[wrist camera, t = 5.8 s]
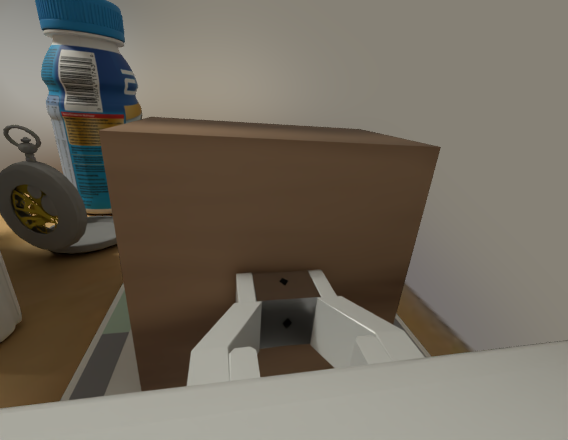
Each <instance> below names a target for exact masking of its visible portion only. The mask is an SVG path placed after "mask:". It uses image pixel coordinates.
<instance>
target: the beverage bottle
mask: <svg viewBox="0 0 568 440" xmlns="http://www.w3.org/2000/svg"><path fill="white" fill-rule="evenodd" d="M35 2H36V6H37V11H38V16H39V20H40V25H41V28H42V30H43V33H44V35H46V36H48V37H51V38H53V43H52V45H51V46H50V48H49V50H48V51H47V53H46V56H45V58H44V61H43V64H42V70H41V77H42V80H43V81H44V83H45V84H46V85H47V87H48V89H49V95H48V97H47V100H46V107H47V111H48V114H49V115H50V117H51V121H52V125H53V129H54V134H55V138H56V143H57V147H58V152H59V156H60V160H61V165H62V169H63V173H64V176H66V177H67V178H68V180H69V181H70V182H71V183H72V184H73V185H74V186H75V187H76V189H77V191H78V192H79V194H80V196H81V198H82V199H83V202H84V205H85V209H86V212H87V213H90V214H112V209H111V203H110V197H109V191H108V185H107V179H106V173H105V167H104V161H103V155H102V149H101V142H100V136H99V130H102V129H106V128H110V127H114V126H118V125H122V124H126V123H129V122H133V121H137V120H141V119H142V110H141V106H140V105H139V103H138V101H137V99H136V97H135V94H136V91H137V88H138V85H137V81H136V78H135V76H134V74H133V72H132V70H131V68H130V66H129V65H128V63H127V62H126V60H125V59H124V58H123V56H122V55H121V54H120V52H119V50H118V47H123V46H124V42H125V38H124V29H123V20H122V15H121V11H120V9H119V8H118V7H117V6H116V5H114V4H113V3H111V2H109V1H106V0H35Z"/></svg>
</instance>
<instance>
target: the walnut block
mask: <svg viewBox="0 0 568 440" xmlns="http://www.w3.org/2000/svg"><path fill="white" fill-rule="evenodd" d="M99 136H100V142H101V149H102V155H103V161H104V167H105V173H106V179H107V185H108V191H109V197H110V203H111V209H112V215H113V221H114V228H115V234H116V240H117V246H118V252H119V258H120V264H121V270H122V276H123V282H124V288H125V294H126V301H127V307H128V313H129V319H130V325H131V331H132V337H133V343H134V349H135V355H136V361H137V367H138V373H139V380H140V386H141V392H142V391H150V390H158V389H167V388H175V387H183V386H187V380H188V372H189V364H190V357H191V351H192V350H193V348H194V347H195V346H196V345H197V344H198V343H199V342H200V341H201V340H202V338H203V337H204V336H205V335H206V334H207V333H208V332H209V331H210V330H211V328H212V327H213V326H214V325H215V324H216V323H217V322H218V321H219V319H220V318H221V317H222V316H223V315H224V314H225V313H226V312H227V311H228V309H229V308H230V307H231V306H232V305H233V304H234V303H236V273H257V272H293V271H306V270H318V269H320V270H322V272H323V273H324V275H325V277H326V278H327V280H328V282H329V283H330V285H331V287H332V288H333V290H334V292H335V293H336V295H337V296H342V297H344V298H346V299H347V300H349V301H351V302H353V303H355V304H356V305H358V306H360V307H362V308H364V309H365V310H367V311H369V312H371V313H373V314H374V315H376V316H378V317H380V318H382V319H384V320H385V321H387V322H389V323H391V324H393V323H394V320H395V316H396V312H397V308H398V305H399V301H400V297H401V293H402V290H403V286H404V282H405V278H406V275H407V271H408V267H409V264H410V260H411V256H412V252H413V249H414V245H415V241H416V237H417V233H418V230H419V226H420V222H421V218H422V215H423V211H424V207H425V204H426V200H427V196H428V193H429V189H430V185H431V181H432V178H433V174H434V170H435V166H436V162H437V159H438V155H439V151H440V147H438V146H433V145H428V144H424V143H420V142H415V141H410V140H406V139H402V138H397V137H393V136H388V135H384V134H379V133H375V132H370V131H366V130H361V129H346V128H329V127H312V126H295V125H279V124H262V123H244V122H228V121H211V120H194V119H178V118H161V117H149V118H145V119H141V120H137V121H133V122H129V123H126V124H122V125H118V126H114V127H110V128H106V129H102V130H99ZM257 358H258V365H259V372H260V377H267V376H275V375H284V374H292V373H300V372H309V371H317V370H325V369H333V368H334V367H333V366H332V365H331V364H330V363H329V362H328V361H327V360H326V359H324V358H323V357H322V356H321V355H320V354H319V353H318V352H317V351H316V350H315V349H314V348H313V347H312V346H311V345H310V344H302V345H288V346H279V347H271V348H263V349H259V352H258V354H257Z"/></svg>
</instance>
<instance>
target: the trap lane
mask: <svg viewBox="0 0 568 440" xmlns="http://www.w3.org/2000/svg"><path fill="white" fill-rule="evenodd" d="M393 325H394V326H396V327H398V328H400V329H402V330H403V331H405V333H406V334H407V335H408V336H409V338H410V339H411V340H412V342H413V343H414V344H415V345H416V347H417V348H418V349H419V351H420V352H421V353H422V354H423V356H424V357H432V356H431V355H430V354H429V353H428V352H427V350H426V349H425V348H424V347H423V345H422V344H421V343H420V342H419V340H418V339H417V338H416V337H415V336H414V334H413V333H412V332H411V331H410V329H409V328H408V327H407V326H406V325H405V323H404V322H403V321H402V320H401V318H400V317H399V316H398V315H397V313H396V316H395V320H394V323H393ZM133 392H141V386H140V380H139V373H138V367H137V361H136V355H135V349H134V343H133V337H132V331H131V325H130V319H129V313H128V307H127V301H126V294H125V288H124V282H123V284H122V286H121V288H120V290H119V291H118V293H117V295H116V297H115V299H114V301H113V303H112V304H111V306H110V308H109V310H108V312H107V314H106V316H105V318H104V319H103V321H102V323H101V325H100V327H99V329H98V331H97V333H96V334H95V336H94V338H93V340H92V342H91V344H90V346H89V348H88V349H87V351H86V353H85V355H84V357H83V359H82V361H81V362H80V364H79V366H78V368H77V370H76V372H75V374H74V376H73V377H72V379H71V381H70V383H69V385H68V387H67V389H66V391H65V392H64V394H63V396H62V398H61V400H60V401H67V400H75V399H83V398H92V397H100V396H108V395H117V394H125V393H133Z"/></svg>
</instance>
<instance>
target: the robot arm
mask: <svg viewBox="0 0 568 440" xmlns="http://www.w3.org/2000/svg"><path fill="white" fill-rule="evenodd" d="M302 344H310V345H311V346H312V347H313V348H314V349H315V350H316V351H317V352H318V353H319V354H320V355H321V356H322V357H323V358H324V359H326V360H327V361H328V362H329V363H330V364H331V365H332V366H333V367H334V368H333V369H325V370H317V371H309V372H300V373H292V374H284V375H275V376H267V377H260V372H259V365H258V358H257V354H258V352H259V349H263V348H271V347H279V346H288V345H302ZM0 440H568V340H566V341H559V342H558V341H557V342H549V343H541V344H532V345H524V346H516V347H507V348H499V349H491V350H483V351H475V352H466V353H458V354H450V355H441V356H433V357H424V356H423V354H422V353H421V352H420V351H419V349H418V348H417V347H416V345H415V344H414V343H413V342H412V340H411V339H410V338H409V336H408V335H407V334H406V333H405V331H403V330H402V329H400V328H398V327H396V326H394V325H393V324H391V323H389V322H387V321H385V320H384V319H382V318H380V317H378V316H376V315H374V314H373V313H371V312H369V311H367V310H365V309H364V308H362V307H360V306H358V305H356V304H355V303H353V302H351V301H349V300H347V299H346V298H344V297H342V296H337V295H336V293H335V292H334V290H333V288H332V287H331V285H330V283H329V282H328V280H327V278H326V277H325V275H324V273H323V272H322V270H320V269H318V270H306V271H293V272H257V273H236V303H234V304H233V305H232V306H231V307H230V308H229V309H228V311H227V312H226V313H225V314H224V315H223V316H222V317H221V318H220V319H219V321H218V322H217V323H216V324H215V325H214V326H213V327H212V328H211V330H210V331H209V332H208V333H207V334H206V335H205V336H204V337H203V338H202V340H201V341H200V342H199V343H198V344H197V345H196V346H195V347H194V348H193V350H192V351H191V357H190V364H189V372H188V380H187V386H183V387H175V388H167V389H158V390H150V391H142V392H133V393H125V394H117V395H108V396H100V397H92V398H83V399H75V400H67V401H58V402H50V403H42V404H33V405H25V406H16V407H8V408H0Z"/></svg>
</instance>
